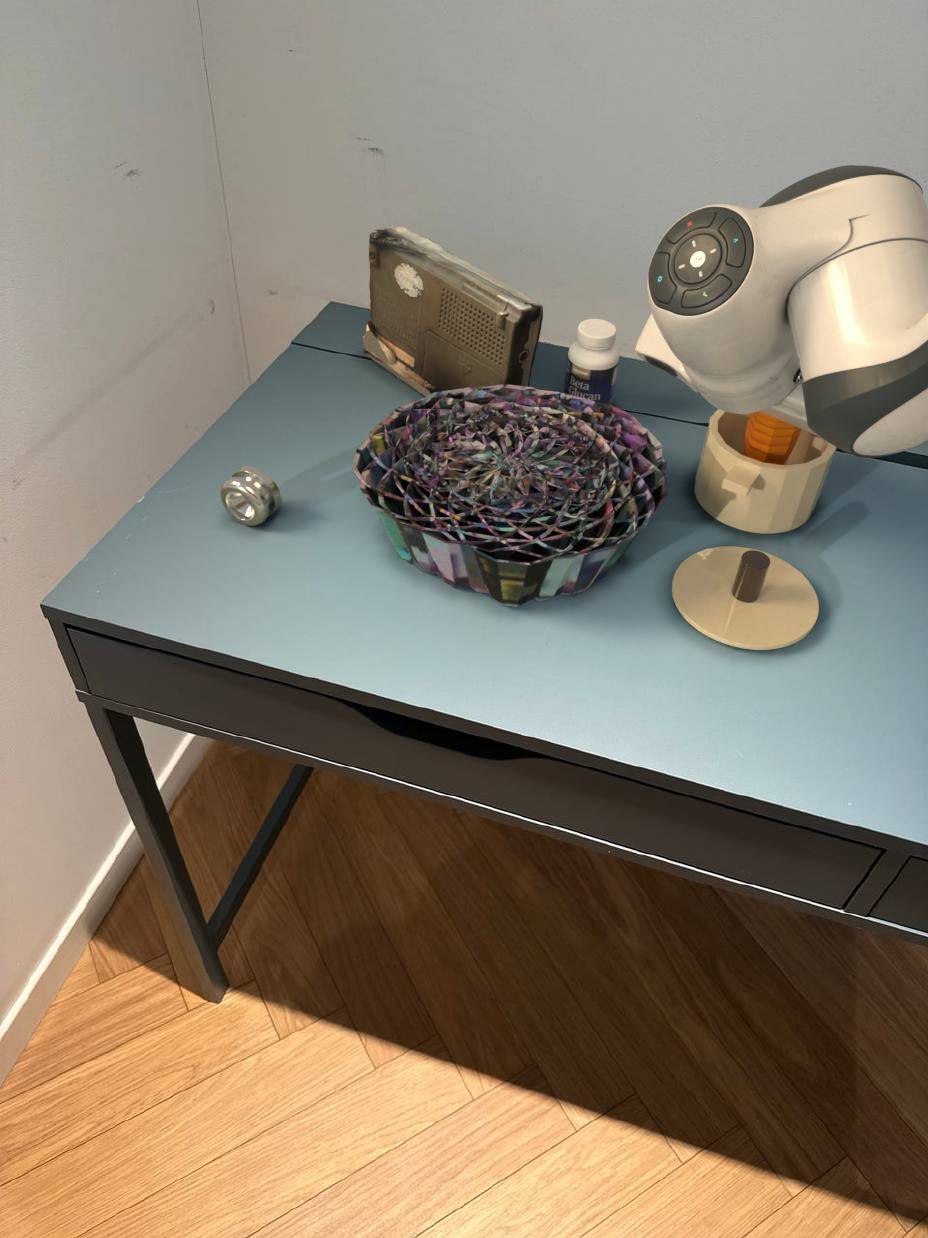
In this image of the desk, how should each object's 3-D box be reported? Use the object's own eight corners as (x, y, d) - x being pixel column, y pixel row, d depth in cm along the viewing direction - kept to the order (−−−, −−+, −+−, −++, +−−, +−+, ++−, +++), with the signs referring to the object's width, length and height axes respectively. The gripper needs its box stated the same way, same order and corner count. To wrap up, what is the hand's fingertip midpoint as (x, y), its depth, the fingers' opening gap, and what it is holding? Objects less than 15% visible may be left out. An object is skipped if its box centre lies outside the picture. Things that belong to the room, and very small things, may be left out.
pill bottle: (559, 419, 104) (568, 337, 97) (564, 393, 108) (573, 312, 101) (609, 425, 104) (622, 343, 97) (612, 398, 107) (624, 317, 100)
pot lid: (835, 590, 86) (852, 547, 82) (785, 677, 79) (802, 634, 75) (704, 537, 91) (715, 494, 87) (646, 615, 83) (656, 571, 80)
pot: (837, 474, 98) (861, 411, 93) (778, 565, 88) (800, 501, 83) (731, 436, 103) (747, 374, 97) (663, 519, 93) (677, 454, 87)
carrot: (782, 483, 96) (826, 348, 85) (776, 512, 93) (821, 375, 82) (732, 472, 97) (769, 337, 87) (725, 501, 94) (762, 364, 83)
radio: (546, 420, 104) (559, 290, 93) (484, 448, 100) (490, 315, 89) (419, 333, 116) (417, 209, 106) (359, 354, 113) (351, 228, 102)
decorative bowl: (616, 676, 81) (644, 592, 73) (311, 586, 84) (308, 498, 77) (663, 496, 98) (689, 414, 91) (407, 428, 102) (413, 344, 94)
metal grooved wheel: (283, 517, 91) (277, 474, 88) (266, 535, 89) (259, 492, 86) (240, 501, 93) (232, 459, 89) (221, 519, 91) (213, 476, 87)
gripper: (895, 362, 69) (903, 421, 82) (655, 274, 78) (694, 339, 91) (849, 441, 70) (864, 487, 82) (616, 344, 79) (661, 399, 91)
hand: (773, 409), depth 87 cm, fingers open, 8 cm apart
